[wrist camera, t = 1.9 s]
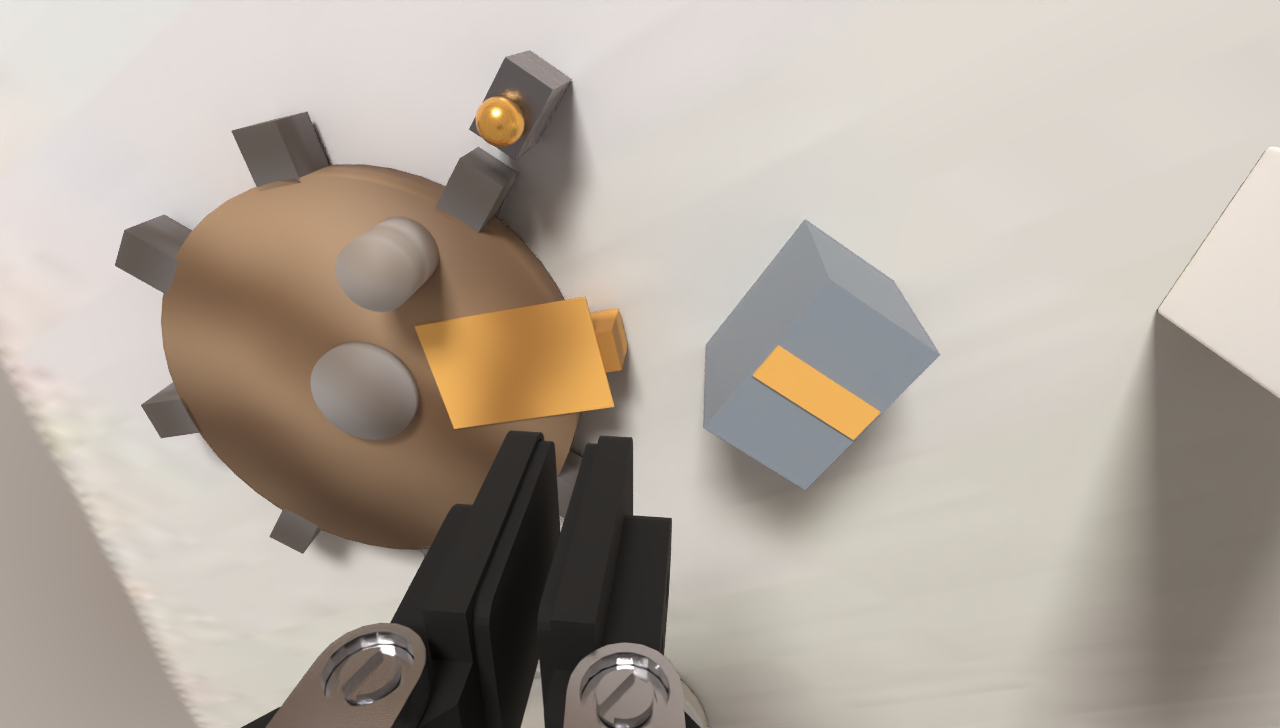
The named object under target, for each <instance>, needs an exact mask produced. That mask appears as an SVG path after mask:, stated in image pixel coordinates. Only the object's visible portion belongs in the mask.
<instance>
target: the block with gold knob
mask: <svg viewBox="0 0 1280 728" xmlns="http://www.w3.org/2000/svg"><path fill="white" fill-rule="evenodd" d="M571 80H572V79H570V78H569V77H568V76H566V75H565V74H563V73H562V72H560V71H559V70H557V69H556V68H555V67H553V66H552V65H550V64H549V63H547V62H546V61H544V60H543V59H541V58H540V57H539V56H537V55H536V54H534V53H533V52H531V51H526V52H522V53H519V54H515V55H511V56H508V57H505V59H504V61H503V63H502V65H501V67H500V69H499V71H498V73H497V75H496V77H495V79H494V81H493V83H492V85H491V87H490V89H489V91H488V93H487V95H486V97H485V99H484V101H483V103H482V104H481V105H480V107H479V108H478V111H477V114H476V117H475V119H474V121H473V123H472V125H471V127H470V129H469V130H471V131H472V132H474V133H475V134H477V135H478V136H480V137H481V138H483V139H484V140H485V141H486V142H488V143H489V144H491V145H493V146H495V147H497V148H498V149H500V150H501V151H503V152H504V153H506V154H507V155H509V156H510V157H512V158H513V159H516V158H518V157H519V156H520V155H522V154H523V153H524V152H525V151H527V150H528V149H529V148H530V147H532V146H533V145H534V144H535V143H537V142H538V140H539V138H540V136H541V134H542V133H543V131H544V129H545V127H546V125H547V123H548V122H549V120H550V118H551V116H552V114H553V113H554V111H555V109H556V107H557V105H558V104H559V102H560V100H561V98H562V96H563V95H564V93H565V91H566V89H567V87H568V86H569V84H570V82H571Z"/></svg>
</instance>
